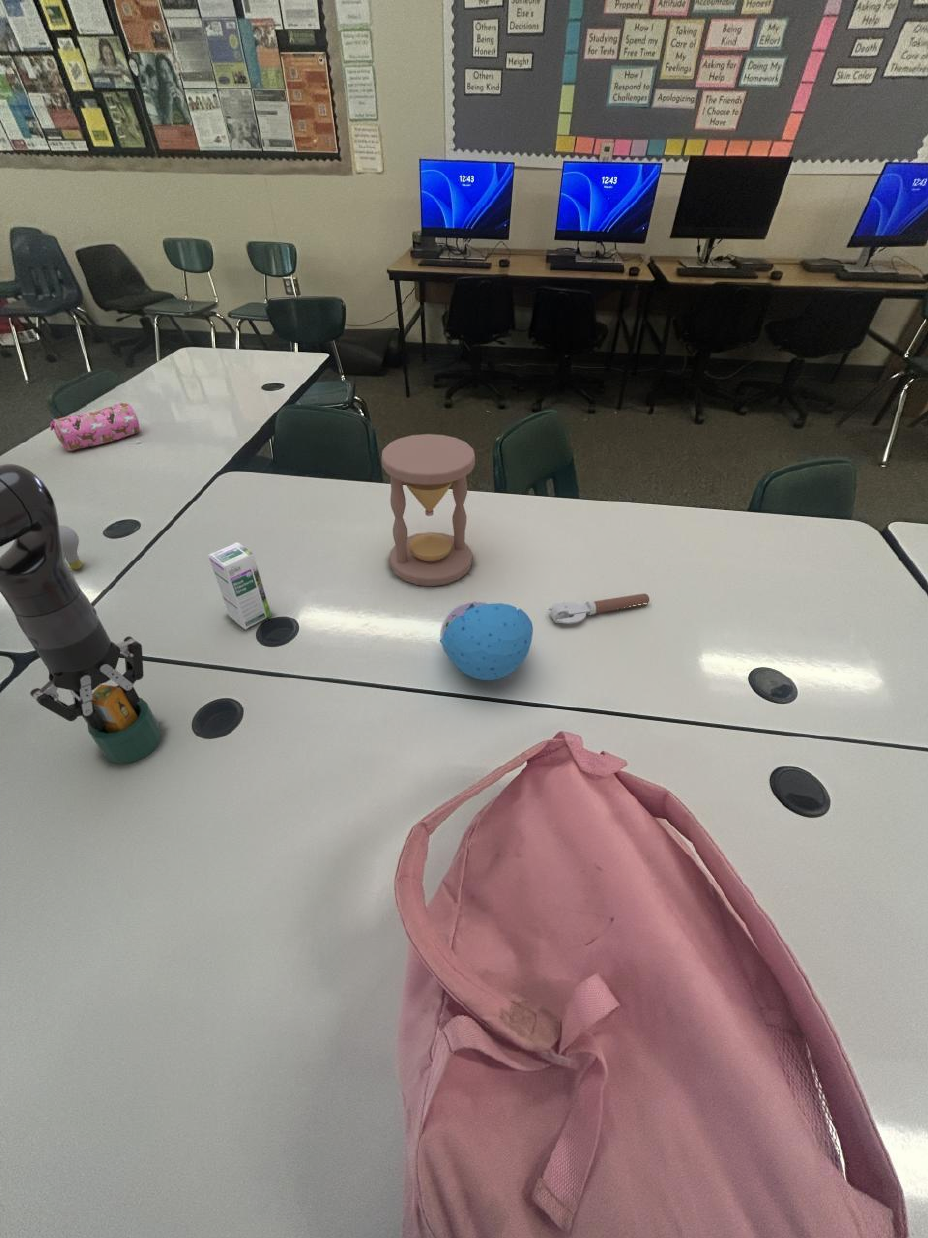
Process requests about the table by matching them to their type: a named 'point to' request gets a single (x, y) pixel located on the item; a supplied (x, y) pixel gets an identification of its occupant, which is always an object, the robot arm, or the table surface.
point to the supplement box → (113, 708)
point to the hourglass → (429, 506)
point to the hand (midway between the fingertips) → (116, 715)
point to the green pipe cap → (130, 738)
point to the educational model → (486, 639)
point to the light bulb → (70, 546)
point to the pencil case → (96, 427)
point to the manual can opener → (593, 607)
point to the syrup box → (240, 584)
